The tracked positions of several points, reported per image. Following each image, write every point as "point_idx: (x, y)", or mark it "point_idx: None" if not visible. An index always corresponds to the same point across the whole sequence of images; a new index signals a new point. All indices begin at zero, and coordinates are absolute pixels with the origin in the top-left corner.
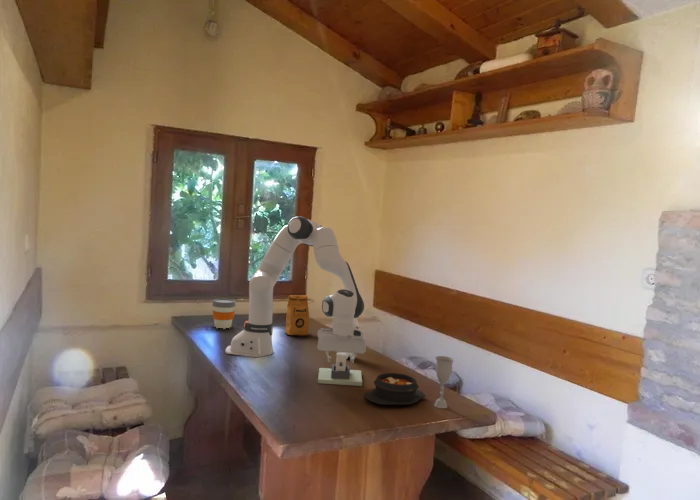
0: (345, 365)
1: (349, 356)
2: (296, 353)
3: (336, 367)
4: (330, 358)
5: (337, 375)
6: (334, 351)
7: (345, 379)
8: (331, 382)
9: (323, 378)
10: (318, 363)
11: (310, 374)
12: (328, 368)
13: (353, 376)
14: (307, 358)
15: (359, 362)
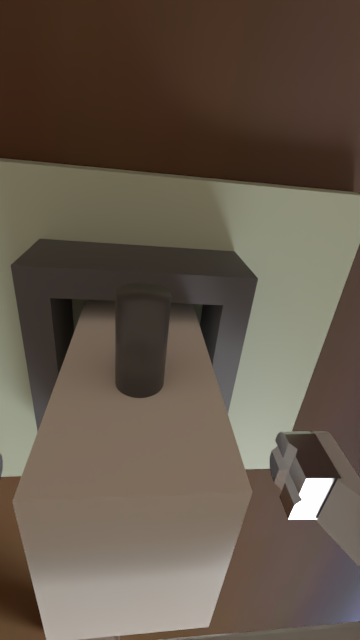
0: (67, 362)
1: None
2: (320, 607)
3: (197, 343)
4: (310, 466)
5: (174, 257)
6: (328, 624)
7: (82, 236)
8: (232, 182)
9: (311, 236)
10: (247, 542)
11: (344, 386)
12: None
13: (6, 338)
14: (287, 578)
15: (19, 594)
